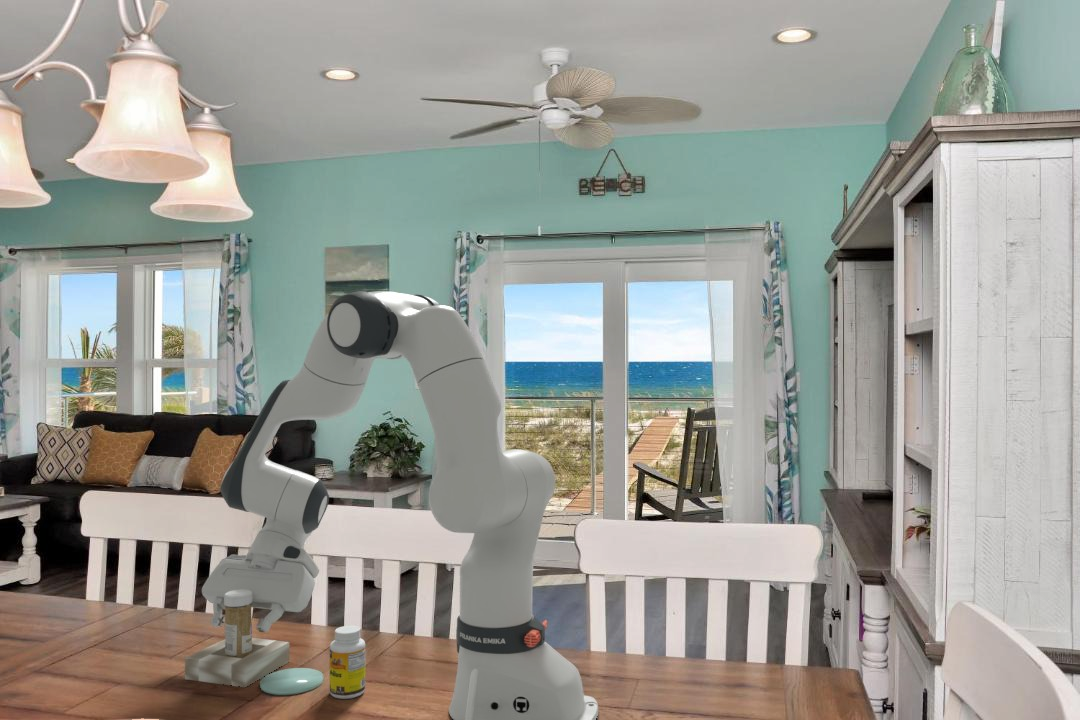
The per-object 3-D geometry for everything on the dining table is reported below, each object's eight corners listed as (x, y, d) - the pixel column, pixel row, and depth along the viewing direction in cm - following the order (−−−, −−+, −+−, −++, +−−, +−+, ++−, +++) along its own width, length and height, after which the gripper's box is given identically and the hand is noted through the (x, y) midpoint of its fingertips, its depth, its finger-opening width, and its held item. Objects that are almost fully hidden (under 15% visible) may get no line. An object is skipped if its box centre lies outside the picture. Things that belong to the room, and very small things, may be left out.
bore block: (289, 661, 146) (289, 642, 146) (245, 687, 135) (245, 666, 135) (232, 654, 150) (232, 635, 150) (185, 679, 138) (184, 658, 138)
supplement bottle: (324, 692, 133) (323, 628, 133) (356, 683, 136) (356, 621, 136) (338, 703, 129) (338, 637, 129) (371, 694, 132) (371, 630, 132)
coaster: (334, 675, 140) (334, 671, 140) (300, 698, 130) (300, 694, 130) (284, 668, 143) (284, 665, 143) (246, 690, 134) (246, 686, 134)
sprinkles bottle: (255, 671, 142) (255, 593, 142) (227, 677, 139) (227, 597, 139) (248, 663, 146) (248, 587, 146) (221, 669, 143) (221, 591, 143)
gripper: (217, 544, 153) (178, 613, 143) (313, 552, 146) (280, 624, 137) (233, 563, 157) (197, 631, 148) (327, 571, 151) (296, 642, 141)
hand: (237, 628), depth 142 cm, fingers open, 8 cm apart
